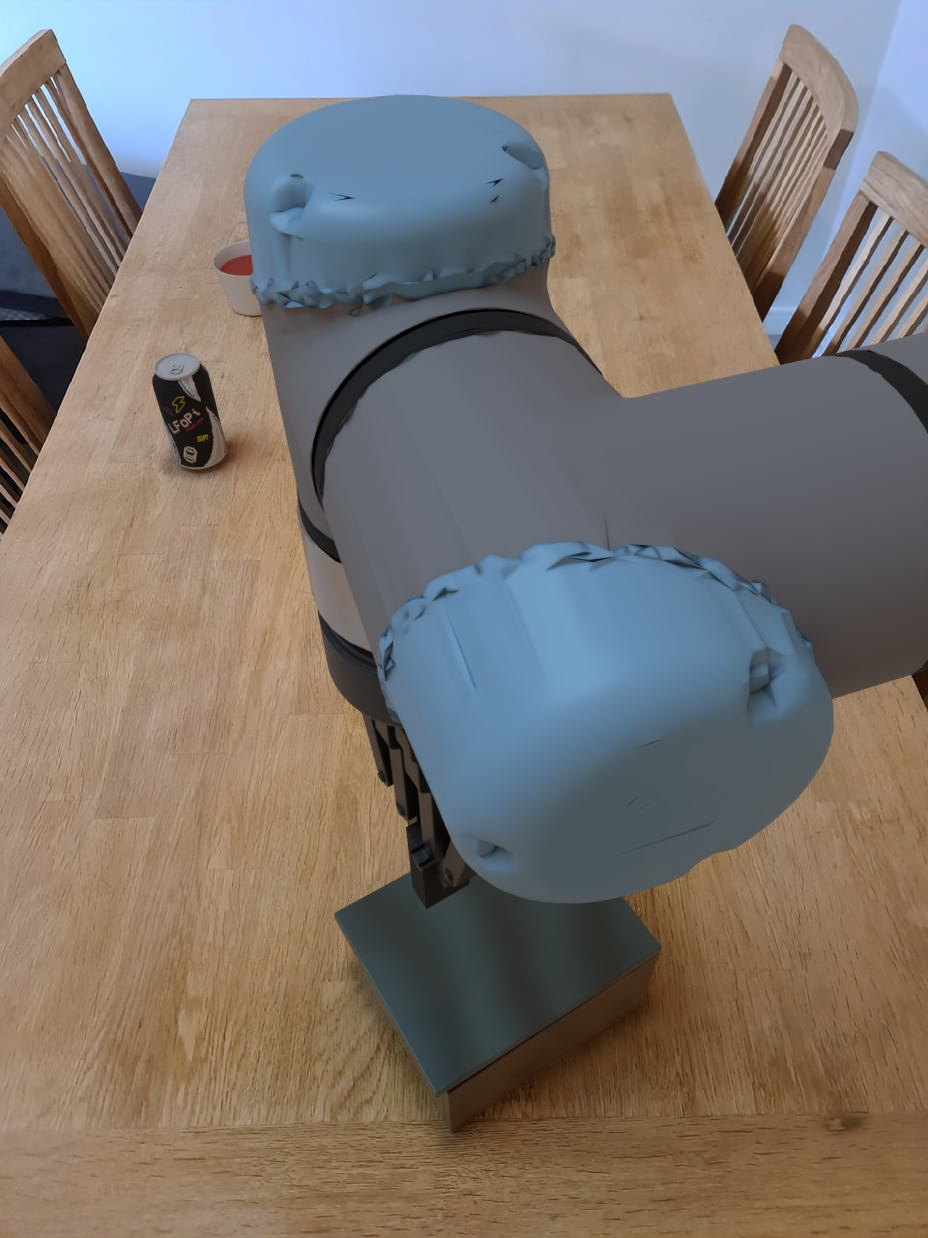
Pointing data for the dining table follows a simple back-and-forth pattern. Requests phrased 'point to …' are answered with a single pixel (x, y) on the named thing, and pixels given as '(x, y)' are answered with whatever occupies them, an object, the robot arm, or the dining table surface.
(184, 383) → the beverage can
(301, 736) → the dining table surface
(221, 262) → the candle
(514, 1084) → the chest
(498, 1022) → the chest lid
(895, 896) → the dining table surface
